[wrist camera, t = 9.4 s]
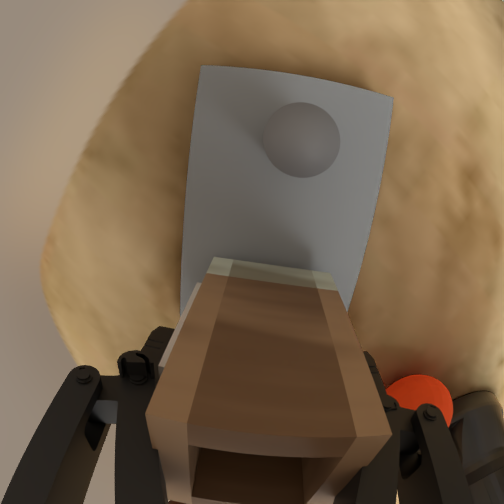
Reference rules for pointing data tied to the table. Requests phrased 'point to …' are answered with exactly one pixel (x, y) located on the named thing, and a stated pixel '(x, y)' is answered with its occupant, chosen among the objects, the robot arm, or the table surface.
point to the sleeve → (265, 392)
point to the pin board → (282, 173)
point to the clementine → (422, 394)
